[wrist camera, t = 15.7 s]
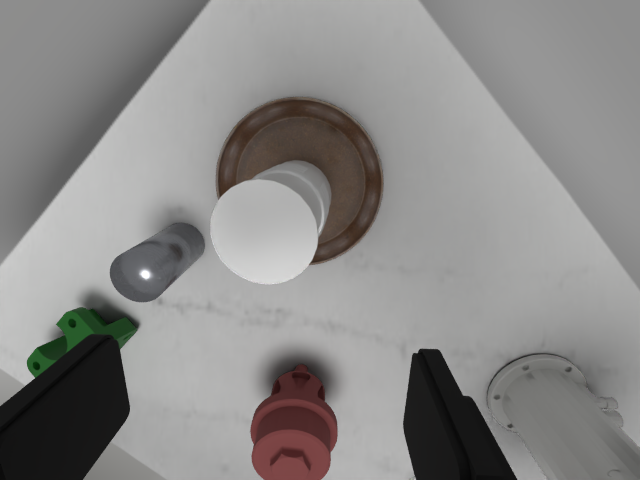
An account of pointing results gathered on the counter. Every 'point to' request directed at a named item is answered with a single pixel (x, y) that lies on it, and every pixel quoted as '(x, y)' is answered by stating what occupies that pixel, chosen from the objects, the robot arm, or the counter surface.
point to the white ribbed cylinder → (272, 222)
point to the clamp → (77, 336)
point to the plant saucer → (311, 162)
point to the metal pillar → (156, 262)
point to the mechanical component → (294, 429)
